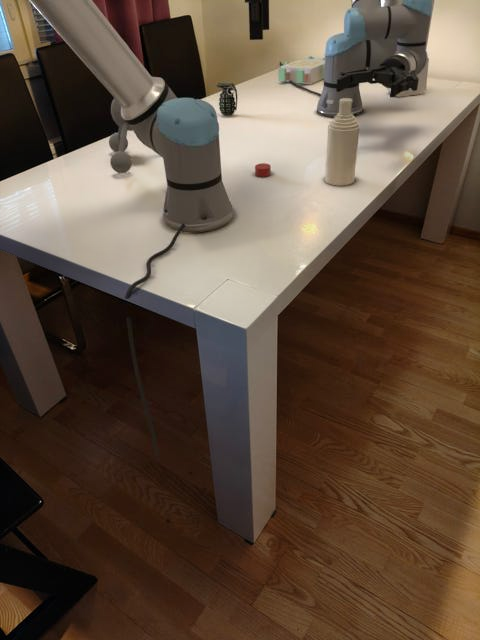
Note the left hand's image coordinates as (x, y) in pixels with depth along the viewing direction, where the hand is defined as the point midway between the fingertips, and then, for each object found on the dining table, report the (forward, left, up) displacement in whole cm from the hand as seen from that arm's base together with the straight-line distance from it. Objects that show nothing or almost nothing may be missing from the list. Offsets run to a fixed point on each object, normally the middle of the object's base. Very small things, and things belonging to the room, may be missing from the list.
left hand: (260, 34), depth 106 cm
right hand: (+14, -20, -13) cm, 28 cm away
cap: (0, 0, -30) cm, 30 cm away
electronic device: (+90, -15, -31) cm, 97 cm away
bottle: (+3, -19, -31) cm, 37 cm away
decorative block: (+103, +30, -31) cm, 112 cm away
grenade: (+44, +35, -31) cm, 64 cm away
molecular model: (-2, +36, -31) cm, 48 cm away
